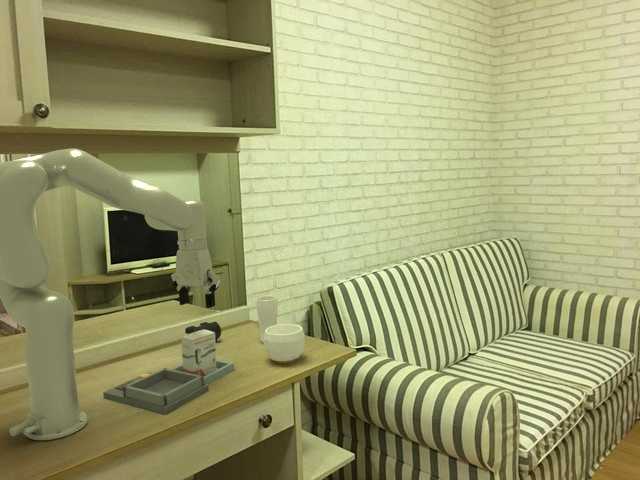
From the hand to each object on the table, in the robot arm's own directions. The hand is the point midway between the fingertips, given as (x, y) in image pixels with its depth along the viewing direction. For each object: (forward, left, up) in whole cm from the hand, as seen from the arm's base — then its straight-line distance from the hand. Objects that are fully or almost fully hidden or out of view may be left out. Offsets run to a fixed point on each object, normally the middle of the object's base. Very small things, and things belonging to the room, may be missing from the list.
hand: (197, 305), depth 144 cm
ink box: (0, 0, -20) cm, 20 cm away
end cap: (+21, +18, -20) cm, 34 cm away
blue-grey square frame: (0, 0, -20) cm, 20 cm away
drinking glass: (+32, -1, -20) cm, 38 cm away
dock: (-16, +1, -20) cm, 25 cm away
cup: (+19, -16, -20) cm, 32 cm away
